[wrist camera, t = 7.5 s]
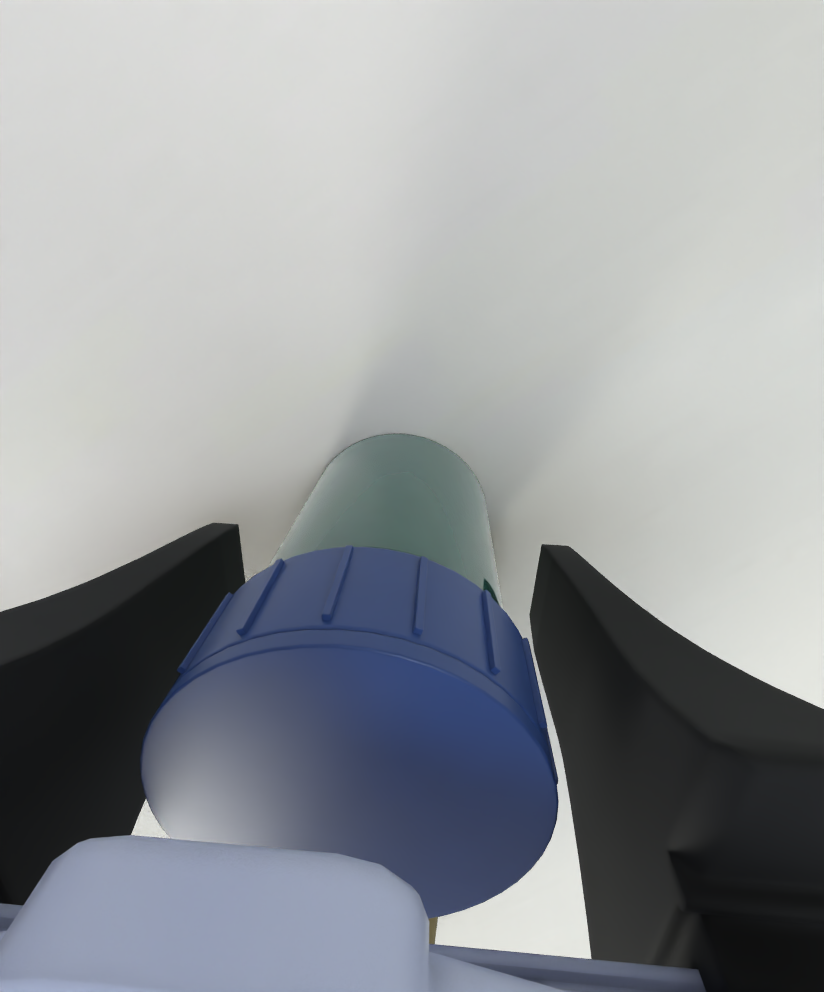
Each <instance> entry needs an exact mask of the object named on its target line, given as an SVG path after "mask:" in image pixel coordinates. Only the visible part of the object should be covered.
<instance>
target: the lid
mask: <svg viewBox="0 0 824 992" xmlns="http://www.w3.org/2000/svg"><path fill="white" fill-rule="evenodd" d="M177 671H178V672H180V673H181V674H180V676H179V677H178V679H177V680H176V682H175V683H174V685H173V686H172V688H171V690H170V691H169V693H168V694H167V696H166V697H165V699H164V700H163V702H162V704H161V705H160V707H159V708H158V710H157V711H156V713H155V714H154V716H153V718H152V719H151V721H150V723H149V725H148V728H147V730H146V733H145V736H144V738H143V743H142V749H141V755H140V773H141V781H142V785H143V789H144V794H145V796H146V799H147V801H148V804H149V806H150V808H151V811H152V813H153V814H154V816H155V818H156V819H157V821H158V822H159V824H160V826H161V827H162V829H163V830H164V831H165V832H166V834H167V835H168V836H169V837H170V839H179V840H190V841H202V842H213V843H224V844H235V845H247V846H258V847H269V848H280V849H292V850H303V851H314V852H326V853H337V854H341V855H345V856H349V857H353V858H357V859H361V860H365V861H369V862H373V863H377V864H381V865H382V866H384V867H385V868H387V869H388V870H390V871H391V872H392V873H394V874H395V875H397V876H398V877H400V878H401V879H402V880H404V881H405V882H407V883H408V884H410V885H411V886H412V887H413V888H414V889H415V890H416V891H417V893H418V894H419V895H420V898H421V901H422V903H423V906H424V909H425V911H426V914H427V917H428V919H429V918H434V917H440V916H444V915H448V914H451V913H455V912H458V911H462V910H465V909H468V908H470V907H473V906H475V905H478V904H480V903H483V902H485V901H487V900H489V899H491V898H492V897H494V896H496V895H498V894H500V893H502V892H503V891H505V890H506V889H508V888H509V887H510V886H512V885H513V884H515V883H516V882H518V881H519V880H520V879H521V878H522V877H523V876H524V875H525V874H526V873H527V872H528V871H529V870H531V869H532V867H533V866H534V865H535V863H536V862H537V861H538V860H539V858H540V857H541V856H542V855H543V853H544V851H545V849H546V847H547V845H548V843H549V842H550V840H551V837H552V834H553V831H554V828H555V824H556V821H557V812H558V792H557V784H558V776H557V772H556V767H555V762H554V758H553V753H552V749H551V744H550V739H549V735H548V730H547V723H546V718H545V713H544V709H543V704H542V700H541V695H540V691H539V686H538V681H537V677H536V672H535V668H534V663H533V658H532V654H531V649H530V645H529V641H528V639H527V638H524V639H522V637H521V635H520V633H519V631H518V629H517V628H516V626H515V625H514V623H513V622H512V620H511V619H510V618H509V616H508V615H507V613H506V612H505V611H504V610H503V609H502V608H501V607H500V606H499V605H498V604H497V603H496V602H495V600H494V599H493V598H492V597H491V593H490V592H488V591H487V590H485V591H483V590H482V589H481V588H479V587H478V586H477V585H476V584H474V583H473V582H471V581H470V580H468V579H466V578H465V577H463V576H462V575H460V574H458V573H457V572H455V571H453V570H451V569H449V568H447V567H444V566H442V565H440V564H438V563H436V562H434V561H431V560H428V558H426V557H423V556H421V557H419V556H416V555H413V554H409V553H404V552H399V551H394V550H390V549H382V548H371V547H353V545H346V546H345V547H337V548H330V549H322V550H316V551H312V552H308V553H304V554H300V555H297V556H293V557H291V558H289V559H286V560H284V561H283V560H282V558H281V559H278V560H276V561H275V563H274V565H272V566H270V567H268V568H267V569H265V570H263V571H262V572H260V573H258V574H256V575H255V576H254V577H252V578H251V579H250V580H248V581H247V582H246V583H245V584H243V585H242V586H241V587H240V588H239V589H238V590H237V591H236V592H235V593H234V594H231V593H230V592H229V593H228V594H227V595H226V596H225V598H224V599H223V601H222V602H221V604H220V605H219V607H218V608H217V610H216V611H215V613H214V614H213V616H212V617H211V619H210V620H209V622H208V623H207V625H206V626H205V628H204V629H203V631H202V633H201V634H200V636H199V637H198V639H197V640H196V642H195V643H194V645H193V646H192V648H191V649H190V651H189V652H188V654H187V655H186V657H185V658H184V660H183V661H182V663H181V664H180V666H179V667H178V669H177Z"/></svg>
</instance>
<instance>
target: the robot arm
mask: <svg viewBox="0 0 824 992" xmlns="http://www.w3.org/2000/svg"><path fill="white" fill-rule="evenodd" d="M243 584H245V577H244V568H243V560H242V551H241V543H240V535H239V526H238V524H223V523H212V524H209V525H206V526H204V527H201V528H199V529H197V530H195V531H193V532H191V533H189V534H187V535H185V536H183V537H181V538H179V539H177V540H175V541H173V542H171V543H169V544H167V545H165V546H163V547H161V548H159V549H157V550H155V551H153V552H151V553H149V554H147V555H145V556H143V557H141V558H139V559H137V560H134V561H132V562H130V563H128V564H126V565H123V566H121V567H119V568H117V569H115V570H113V571H110V572H108V573H106V574H104V575H102V576H100V577H97V578H95V579H93V580H90V581H88V582H85V583H83V584H80V585H78V586H75V587H73V588H70V589H68V590H65V591H62V592H59V593H57V594H54V595H51V596H49V597H46V598H43V599H40V600H37V601H34V602H31V603H28V604H25V605H21V606H18V607H15V608H12V609H8V610H5V611H2V612H0V992H824V709H822V708H820V707H817V706H815V705H813V704H811V703H808V702H806V701H804V700H802V699H800V698H797V697H795V696H793V695H791V694H788V693H786V692H784V691H782V690H780V689H777V688H775V687H773V686H771V685H769V684H767V683H765V682H763V681H761V680H759V679H757V678H755V677H753V676H751V675H749V674H747V673H745V672H744V671H742V670H740V669H738V668H736V667H734V666H732V665H731V664H729V663H727V662H725V661H723V660H721V659H719V658H718V657H716V656H714V655H712V654H711V653H709V652H707V651H706V650H704V649H702V648H701V647H699V646H697V645H696V644H694V643H693V642H691V641H690V640H688V639H686V638H685V637H683V636H682V635H680V634H679V633H677V632H675V631H674V630H672V629H671V628H669V627H668V626H667V625H665V624H664V623H662V622H661V621H659V620H658V619H657V618H655V617H654V616H653V615H651V614H650V613H649V612H647V611H646V610H645V609H643V608H642V607H641V606H639V605H638V604H637V603H635V602H634V601H633V600H632V599H630V598H629V597H628V596H627V595H625V594H624V593H623V592H622V591H620V590H619V589H618V588H617V587H616V586H615V585H613V584H612V583H611V582H610V581H609V580H607V579H606V578H605V577H604V576H603V575H602V574H601V573H599V572H598V571H597V570H596V569H595V568H594V567H593V566H591V565H590V564H589V563H588V562H587V561H586V560H585V559H584V558H582V557H581V556H580V555H579V554H578V553H577V552H575V551H574V550H573V549H572V548H570V547H569V546H561V545H545V544H542V546H541V552H540V558H539V563H538V569H537V575H536V581H535V586H534V592H533V598H532V604H531V609H530V623H531V631H532V639H533V646H534V652H535V656H536V660H537V664H538V668H539V671H540V675H541V679H542V682H543V686H544V690H545V693H546V697H547V700H548V704H549V707H550V711H551V715H552V718H553V722H554V725H555V729H556V733H557V736H558V740H559V744H560V748H561V753H562V757H563V762H564V768H565V774H566V780H567V786H568V791H569V797H570V803H571V810H572V816H573V823H574V829H575V836H576V843H577V849H578V856H579V863H580V871H581V878H582V885H583V893H584V900H585V908H586V915H587V923H588V932H589V941H590V949H591V958H592V959H583V958H572V957H562V956H551V955H540V954H530V953H519V952H509V951H498V950H488V949H477V948H466V947H456V946H445V945H435V944H429V920H428V917H427V914H426V911H425V909H424V906H423V903H422V901H421V898H420V895H419V894H418V893H417V891H416V890H415V889H414V888H413V887H412V886H411V885H410V884H408V883H407V882H405V881H404V880H402V879H401V878H400V877H398V876H397V875H395V874H394V873H392V872H391V871H390V870H388V869H387V868H385V867H384V866H382V865H381V864H377V863H373V862H369V861H365V860H361V859H357V858H353V857H349V856H345V855H341V854H337V853H326V852H314V851H303V850H292V849H280V848H269V847H258V846H247V845H235V844H224V843H213V842H202V841H190V840H179V839H168V838H156V837H145V836H134V835H131V833H132V831H133V828H134V826H135V823H136V821H137V818H138V816H139V813H140V811H141V809H142V806H143V804H144V801H145V799H146V796H145V794H144V789H143V785H142V781H141V773H140V755H141V749H142V743H143V738H144V736H145V733H146V730H147V728H148V725H149V723H150V721H151V719H152V718H153V716H154V714H155V713H156V711H157V710H158V708H159V707H160V705H161V704H162V702H163V700H164V699H165V697H166V696H167V694H168V693H169V691H170V690H171V688H172V686H173V685H174V683H175V682H176V680H177V679H178V677H179V676H180V674H181V673H180V672H178V671H177V669H178V667H179V666H180V664H181V663H182V661H183V660H184V658H185V657H186V655H187V654H188V652H189V651H190V649H191V648H192V646H193V645H194V643H195V642H196V640H197V639H198V637H199V636H200V634H201V633H202V631H203V629H204V628H205V626H206V625H207V623H208V622H209V620H210V619H211V617H212V616H213V614H214V613H215V611H216V610H217V608H218V607H219V605H220V604H221V602H222V601H223V599H224V598H225V596H226V595H227V594H228V593H229V592H230V593H231V594H234V593H235V592H236V591H237V590H238V589H239V588H240V587H241V586H242V585H243Z"/></svg>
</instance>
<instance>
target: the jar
mask: <svg viewBox="0 0 824 992" xmlns="http://www.w3.org/2000/svg"><path fill="white" fill-rule="evenodd" d="M346 545H353V547H371V548H382V549H390V550H394V551H399V552H404V553H409V554H413V555H416V556H419V557H421V556H423V557H426V558H428V560H431V561H434V562H436V563H438V564H440V565H442V566H444V567H447V568H449V569H451V570H453V571H455V572H457V573H458V574H460V575H462V576H463V577H465V578H466V579H468V580H470V581H471V582H473V583H474V584H476V585H477V586H478V587H479V588H481V589H482V590H483V591H485V590H487V591H488V592H490V593H491V597H492V598H493V599H494V600H495V602H496V603H497V604H498V605H499V606H500V607H501V608H502V609H503V604H502V598H501V592H500V586H499V580H498V574H497V568H496V562H495V556H494V550H493V544H492V537H491V531H490V525H489V519H488V513H487V507H486V501H485V497H484V494H483V490H482V488H481V486H480V483H479V481H478V479H477V478H476V476H475V475H474V473H473V471H472V470H471V469H470V468H469V466H468V465H467V464H466V463H465V462H464V461H463V460H462V459H461V458H460V457H459V456H458V455H456V454H455V453H454V452H452V451H451V450H449V449H448V448H446V447H445V446H443V445H441V444H439V443H437V442H434V441H432V440H429V439H426V438H423V437H419V436H414V435H407V434H385V435H379V436H374V437H371V438H367V439H364V440H362V441H360V442H357V443H355V444H353V445H352V446H350V447H348V448H347V449H345V450H344V451H342V452H341V453H340V454H339V455H338V456H336V457H335V458H334V459H333V461H332V462H331V463H330V464H329V465H328V466H327V468H326V469H325V471H324V472H323V474H322V476H321V477H320V479H319V481H318V482H317V484H316V486H315V488H314V489H313V491H312V493H311V494H310V496H309V498H308V500H307V501H306V503H305V505H304V507H303V508H302V510H301V512H300V513H299V515H298V517H297V519H296V520H295V522H294V524H293V525H292V527H291V529H290V531H289V532H288V534H287V536H286V537H285V539H284V541H283V543H282V544H281V546H280V548H279V549H278V551H277V553H276V555H275V556H274V558H273V560H272V561H271V563H270V565H269V567H270V566H272V565H274V563H275V561H276V560H278V559H281V558H282V560H283V561H284V560H286V559H289V558H291V557H293V556H297V555H300V554H304V553H308V552H312V551H316V550H322V549H330V548H337V547H345V546H346Z"/></svg>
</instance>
